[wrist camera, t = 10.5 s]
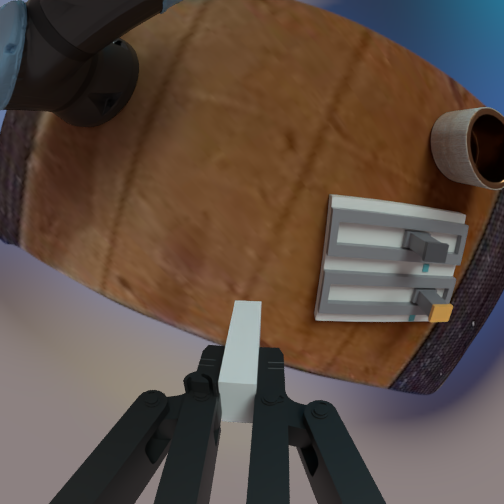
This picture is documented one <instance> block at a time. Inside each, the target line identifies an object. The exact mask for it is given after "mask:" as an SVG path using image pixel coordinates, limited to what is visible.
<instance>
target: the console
mask: <svg viewBox="0 0 504 504" xmlns="http://www.w3.org/2000/svg"><path fill="white" fill-rule="evenodd" d="M465 217H466V215H465V214H462V213H460V212H455V211H449V210H444V209H438V208H432V207H425V206H419V205H413V204H406V203H399V202H392V201H384V200H376V199H368V198H360V197H351V196H342V195H332V194H329V205H328V215H327V224H326V233H325V241H324V249H323V257H322V264H321V272H320V279H319V285H318V292H317V298H316V305H315V311H314V316H315V320H319V321H354V322H413V321H428V316H427V315H426V314H425V313H424V311H423V310H422V309H421V308H420V307H419V305H418V304H417V303H413V302H412V301H411V300H412V296H413V292H414V289H415V288H435V289H437V294H438V295H440V296H441V297H442V298H443V299H444V300H445V301H446V302H447V303H448V304H449V302H450V299H451V296H452V292H453V289H454V286H455V282H456V278H454V277H453V273H454V269H455V265H460V263H461V259H462V255H463V251H464V246H465V242H466V237H467V232H468V225H466V224H464V223H465ZM405 230H409V231H418V232H426V233H430V234H431V237H433V238H435V239H436V240H438V241H440V242H441V243H447V244H448V245H449V248H448V253H447V257H446V262H445V263H434V262H424V261H423V260H422V257H421V256H420V255H418V254H417V253H416V252H414V251H413V250H412V249H410V248H409V247H404V246H403V241H404V235H405Z"/></svg>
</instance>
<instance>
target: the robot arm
mask: <svg viewBox="0 0 504 504" xmlns="http://www.w3.org/2000/svg"><path fill="white" fill-rule="evenodd" d="M180 1H182V0H28V1H27V2H26V3H24V2H23V1H22V0H18V1H10V2H8V3H7V4H4V5H3V6H2V7H0V110H31V111H49V112H53V113H54V114H56V115H57V116H58V117H60V118H61V119H63V120H64V121H65V122H67V123H69V124H71V125H74V126H80V127H94V126H98V125H101V124H103V123H105V122H107V121H108V120H110V119H111V118H113V117H114V116H115V115H116V114H117V113H119V111H120V110H121V109H122V108H123V107H124V106H125V104H126V103H127V102H128V100H129V98H130V97H131V95H132V93H133V91H134V88H135V86H136V83H137V79H138V73H139V63H138V58H137V54H136V52H135V50H134V49H133V48H132V46H131V45H130V44H128V43H127V42H125V41H124V40H122V39H121V38H119V37H121V36H122V35H124V34H126V33H127V32H129V31H130V30H132V29H133V28H135V27H137V26H138V25H140V24H141V23H143V22H145V21H147V20H148V19H150V18H152V17H153V16H155V15H157V14H159V13H160V14H162V13H164V12H165V11H166V10H167V9H168V8H169V7H171V6H173V5H175V4H177V3H179V2H180ZM260 325H261V301H236V300H235V304H234V309H233V313H232V318H231V323H230V327H229V332H228V337H227V342H226V346H216V345H208V346H207V347H206V348H205V350H203V353H202V356H201V359H200V362H199V365H198V369H197V371H196V372H193V373H190V374H188V375H187V376H186V377H185V378H184V380H183V381H184V386H185V391H186V393H184V394H182V395H179V396H171V397H166V396H165V394H163V393H162V392H160V391H157V390H149V391H146V392H143V393H142V394H141V395H140V396H139V397H138V398H137V399H136V401H135V402H134V403H133V404H132V405H131V406H130V408H129V409H128V410H127V411H126V413H125V414H124V415H123V416H122V417H121V419H120V420H119V421H118V422H117V423H116V424H115V426H114V427H113V428H112V429H111V431H110V432H109V433H108V434H107V435H106V436H105V438H104V439H103V440H102V441H101V442H100V444H99V445H98V446H97V447H96V448H95V450H94V451H93V452H92V453H91V454H90V456H89V457H88V458H87V459H86V460H85V462H84V463H83V464H82V465H81V466H80V468H79V469H78V470H77V471H76V472H75V473H74V475H73V476H72V477H71V478H70V479H69V480H68V482H67V483H66V484H65V485H64V487H63V488H62V489H61V490H60V491H59V492H58V493H57V495H56V496H55V497H54V498H53V499H52V501H51V502H50V503H49V504H134V503H135V502H136V500H137V499H138V497H139V496H140V494H141V493H142V492H143V490H144V488H145V487H146V485H147V484H148V482H149V481H150V479H151V478H152V476H153V475H154V473H155V472H156V470H157V469H158V467H159V466H160V464H161V462H162V461H163V459H164V458H165V456H166V455H167V453H168V455H167V458H166V462H165V466H164V469H163V472H162V476H161V479H160V483H159V486H158V490H157V494H156V497H155V501H154V504H209V501H210V494H211V488H212V482H213V476H214V470H215V463H216V457H217V451H218V445H219V439H220V433H221V428H220V422H221V417H222V421H229V422H242V423H253V426H252V427H253V428H252V440H251V453H250V465H249V477H248V489H247V502H246V504H290V502H289V501H290V500H289V498H290V495H289V448H288V447H289V445H291V446H296V447H297V450H298V453H299V455H300V458H301V461H302V464H303V466H304V469H305V472H306V474H307V477H308V479H309V482H310V485H311V487H312V490H313V493H314V495H315V498H316V500H317V503H318V504H386V502H385V501H384V499H383V497H382V495H381V493H380V491H379V489H378V487H377V485H376V484H375V482H374V480H373V478H372V476H371V474H370V472H369V470H368V469H367V467H366V465H365V463H364V461H363V459H362V457H361V456H360V453H359V452H358V450H357V448H356V446H355V444H354V442H353V440H352V438H351V437H350V435H349V433H348V431H347V429H346V427H345V425H344V423H343V421H342V420H341V418H340V416H339V414H338V412H337V410H336V408H335V407H334V406H333V405H332V404H331V403H329V402H327V401H323V400H316V401H313V402H310V403H309V404H308V405H304V404H300V403H297V402H294V401H293V400H291V399H290V398H288V396H287V394H286V392H285V377H284V356H283V353H282V352H281V350H280V349H279V348H266V347H260Z"/></svg>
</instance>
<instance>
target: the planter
mask: <svg viewBox="0 0 504 504" xmlns="http://www.w3.org/2000/svg"><path fill="white" fill-rule="evenodd" d="M431 151H432V155H433V158H434V161H435V163H436V165H437V167H438V168H439V170H440V171H441V172H442V173H443V174H444V175H445V176H446V177H447V178H449V179H450V180H453V181H455V182H458V183H463V184H469V185H474V186H478V187H483V188H487V189H491V190H499V189H502V188H504V117H503V115H502V114H500V113H499V112H498V111H496V110H495V109H492V108H489V107H482V108H475V109H467V110H459V111H452V112H448V113H445V114H443V115H442V116H440V117H439V118H438V119H437V121H436V122H435V124H434V126H433V129H432V132H431Z"/></svg>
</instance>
